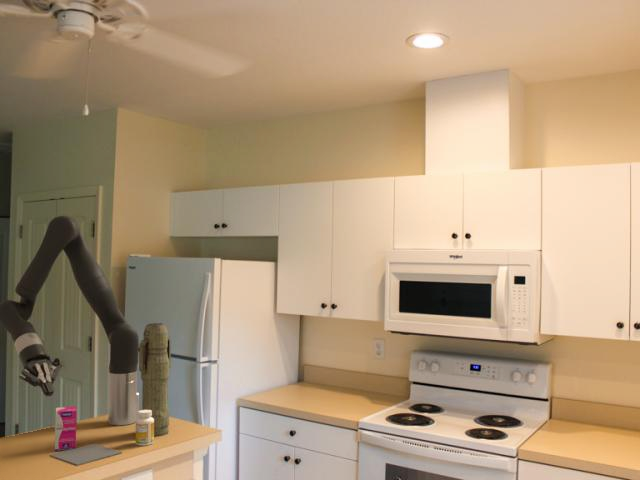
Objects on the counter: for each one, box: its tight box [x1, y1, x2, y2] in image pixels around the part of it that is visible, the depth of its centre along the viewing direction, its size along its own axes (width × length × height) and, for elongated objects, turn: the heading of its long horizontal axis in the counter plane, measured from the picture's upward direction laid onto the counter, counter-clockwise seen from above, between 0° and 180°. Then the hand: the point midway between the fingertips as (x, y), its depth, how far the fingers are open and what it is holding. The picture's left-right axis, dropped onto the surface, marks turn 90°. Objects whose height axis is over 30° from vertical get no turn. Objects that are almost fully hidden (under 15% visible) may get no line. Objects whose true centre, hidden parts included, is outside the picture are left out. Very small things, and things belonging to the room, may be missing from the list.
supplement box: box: [54, 405, 78, 452], centre depth 184 cm, size 6×6×12 cm
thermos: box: [138, 322, 172, 438], centre depth 200 cm, size 9×12×35 cm
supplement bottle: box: [135, 409, 155, 447], centre depth 189 cm, size 5×5×10 cm
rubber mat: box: [49, 443, 123, 466], centre depth 177 cm, size 14×14×1 cm
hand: (50, 394), depth 190 cm, fingers closed
